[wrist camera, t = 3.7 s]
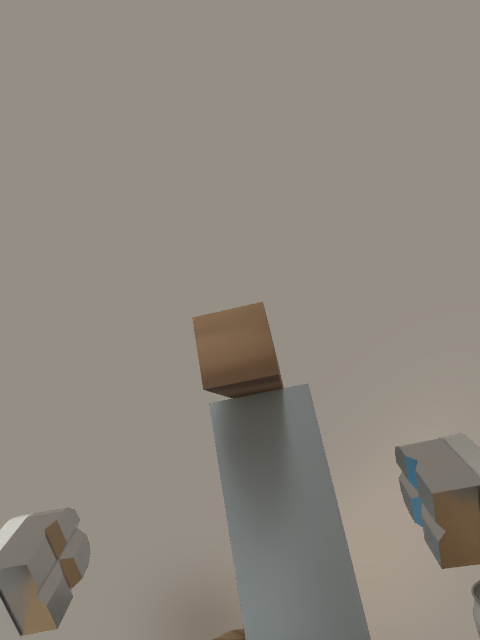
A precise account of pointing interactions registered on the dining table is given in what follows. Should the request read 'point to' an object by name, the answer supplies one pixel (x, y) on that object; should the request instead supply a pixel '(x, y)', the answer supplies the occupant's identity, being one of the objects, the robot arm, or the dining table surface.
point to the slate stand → (285, 520)
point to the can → (476, 604)
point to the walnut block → (237, 352)
